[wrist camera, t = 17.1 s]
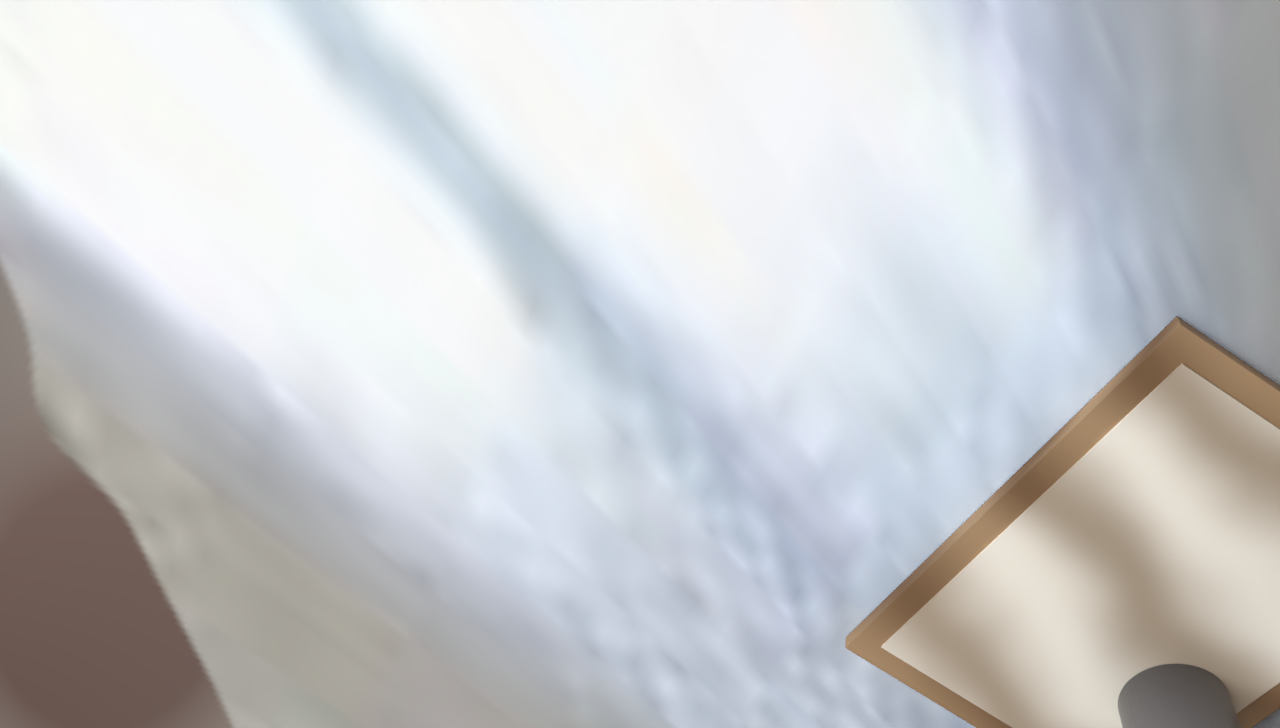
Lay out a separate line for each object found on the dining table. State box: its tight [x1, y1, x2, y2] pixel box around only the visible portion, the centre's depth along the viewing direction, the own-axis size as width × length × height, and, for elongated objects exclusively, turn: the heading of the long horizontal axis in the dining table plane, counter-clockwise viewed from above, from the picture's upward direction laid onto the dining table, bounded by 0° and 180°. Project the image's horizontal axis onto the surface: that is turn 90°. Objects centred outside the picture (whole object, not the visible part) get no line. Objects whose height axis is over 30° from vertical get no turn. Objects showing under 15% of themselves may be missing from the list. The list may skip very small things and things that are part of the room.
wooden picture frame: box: [846, 317, 1280, 728], centre depth 44 cm, size 18×14×1 cm
